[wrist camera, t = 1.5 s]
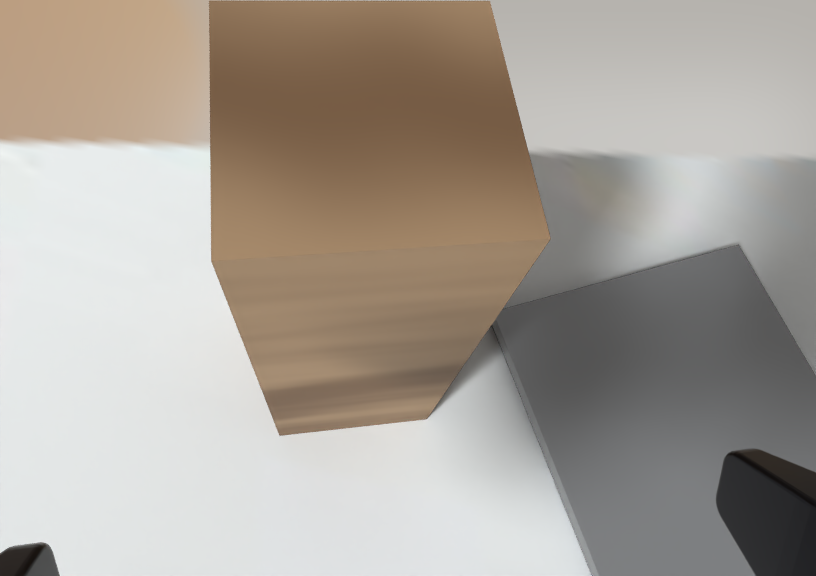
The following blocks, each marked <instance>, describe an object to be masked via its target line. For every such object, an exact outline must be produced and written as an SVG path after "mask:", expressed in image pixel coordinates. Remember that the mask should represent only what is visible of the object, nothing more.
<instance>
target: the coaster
mask: <svg viewBox="0 0 816 576" xmlns="http://www.w3.org/2000/svg"><path fill="white" fill-rule="evenodd" d="M492 326H493V329H494V331H495V334H496V336H497V339H498V341H499V344H500V346H501V349H502V351H503V354H504V356H505V359H506V361H507V364H508V366H509V369H510V371H511V374H512V376H513V379H514V381H515V384H516V386H517V389H518V391H519V394H520V397H521V399H522V402H523V404H524V407H525V409H526V412H527V414H528V417H529V419H530V422H531V424H532V427H533V429H534V432H535V434H536V437H537V439H538V442H539V444H540V447H541V449H542V452H543V454H544V457H545V459H546V462H547V464H548V467H549V469H550V472H551V474H552V477H553V479H554V482H555V484H556V487H557V489H558V492H559V494H560V497H561V499H562V502H563V504H564V507H565V509H566V512H567V514H568V517H569V519H570V522H571V524H572V527H573V529H574V532H575V535H576V537H577V540H578V542H579V545H580V547H581V550H582V552H583V555H584V557H585V560H586V562H587V565H588V567H589V570H590V572H591V575H592V576H755V574H754V573H753V571H752V569H751V568H750V566H749V564H748V563H747V561H746V559H745V557H744V556H743V554H742V552H741V551H740V549H739V547H738V546H737V544H736V542H735V540H734V539H733V537H732V535H731V534H730V532H729V530H728V529H727V527H726V525H725V524H724V522H723V520H722V518H721V517H720V515H719V512H718V510H717V506H716V492H717V488H718V483H719V479H720V474H721V469H722V465H723V460H724V457H725V456H726V455H727V454H728V453H729V452H731V451H735V450H743V449H750V448H755V449H760V450H763V451H765V452H768V453H770V454H772V455H775V456H777V457H780V458H782V459H785V460H787V461H790V462H792V463H794V464H797V465H799V466H802V467H804V468H807V469H809V470H812V471H814V472H816V376H815V374H814V372H813V370H812V369H811V367H810V365H809V364H808V362H807V360H806V359H805V357H804V355H803V353H802V352H801V350H800V348H799V347H798V345H797V343H796V342H795V340H794V338H793V336H792V335H791V333H790V331H789V330H788V328H787V326H786V325H785V323H784V321H783V319H782V318H781V316H780V314H779V313H778V311H777V309H776V308H775V306H774V304H773V302H772V301H771V299H770V297H769V296H768V294H767V292H766V291H765V289H764V287H763V285H762V284H761V282H760V280H759V279H758V277H757V275H756V274H755V272H754V270H753V269H752V267H751V265H750V263H749V262H748V260H747V258H746V257H745V255H744V253H743V252H742V250H741V248H740V246H739V245H736V246H732V247H729V248H725V249H721V250H718V251H714V252H710V253H707V254H703V255H699V256H696V257H692V258H688V259H685V260H681V261H677V262H674V263H670V264H666V265H663V266H659V267H655V268H652V269H648V270H644V271H641V272H637V273H633V274H630V275H626V276H622V277H619V278H615V279H611V280H608V281H604V282H600V283H597V284H593V285H589V286H586V287H582V288H578V289H575V290H571V291H567V292H564V293H560V294H556V295H553V296H549V297H545V298H542V299H538V300H534V301H531V302H527V303H523V304H520V305H516V306H512V307H509V308H505V309H502V310H501V312H500V313H499V315H498V316H497V318H496V319H495V321H494V322H493V324H492Z"/></svg>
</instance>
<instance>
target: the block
mask: <svg viewBox="0 0 816 576" xmlns="http://www.w3.org/2000/svg"><path fill="white" fill-rule="evenodd" d="M209 19H210V20H209V23H210V24H209V26H210V28H209V33H210V155H211V261H212V264H213V267H214V269H215V272H216V274H217V277H218V279H219V282H220V284H221V287H222V290H223V292H224V295H225V297H226V300H227V302H228V305H229V307H230V310H231V313H232V315H233V318H234V320H235V323H236V325H237V328H238V330H239V333H240V336H241V338H242V341H243V343H244V346H245V348H246V351H247V353H248V356H249V359H250V361H251V364H252V366H253V369H254V371H255V374H256V377H257V379H258V382H259V384H260V387H261V389H262V392H263V394H264V397H265V400H266V402H267V405H268V407H269V410H270V412H271V415H272V417H273V420H274V423H275V425H276V428H277V430H278V433H279V435H280V436H281V435H290V434H299V433H307V432H316V431H325V430H334V429H343V428H352V427H361V426H370V425H379V424H388V423H397V422H406V421H415V420H423V419H427V418H428V417H429V415H430V414H431V412H432V411H433V409H434V408H435V406H436V405H437V404H438V402H439V401H440V399H441V398H442V396H443V395H444V393H445V392H446V390H447V389H448V388H449V386H450V385H451V383H452V382H453V380H454V379H455V377H456V376H457V374H458V373H459V372H460V370H461V369H462V367H463V366H464V364H465V363H466V361H467V360H468V358H469V357H470V356H471V354H472V353H473V351H474V350H475V348H476V347H477V345H478V344H479V342H480V341H481V340H482V338H483V337H484V335H485V334H486V332H487V331H488V329H489V328H490V326H491V325H492V324H493V322H494V321H495V319H496V318H497V316H498V315H499V313H500V312H501V310H502V309H503V308H504V306H505V305H506V303H507V302H508V300H509V299H510V297H511V296H512V294H513V293H514V292H515V290H516V289H517V287H518V286H519V284H520V283H521V281H522V280H523V278H524V277H525V276H526V274H527V273H528V271H529V270H530V268H531V267H532V265H533V264H534V262H535V261H536V260H537V258H538V257H539V255H540V254H541V252H542V251H543V249H544V248H545V246H546V245H547V244H548V242H549V241H550V239H551V238H550V234H549V230H548V226H547V222H546V219H545V215H544V211H543V207H542V203H541V199H540V195H539V191H538V187H537V183H536V180H535V176H534V172H533V168H532V164H531V160H530V156H529V152H528V148H527V144H526V141H525V137H524V133H523V129H522V125H521V121H520V117H519V113H518V110H517V106H516V102H515V98H514V94H513V90H512V86H511V82H510V78H509V74H508V70H507V66H506V63H505V59H504V55H503V51H502V47H501V43H500V39H499V35H498V32H497V28H496V23H495V19H494V16H493V12H492V8H491V4H490V1H209Z"/></svg>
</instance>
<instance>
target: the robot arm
mask: <svg viewBox="0 0 816 576" xmlns="http://www.w3.org/2000/svg"><path fill="white" fill-rule="evenodd" d="M716 506H717V510H718V512H719V515H720V517H721V518H722V520H723V522H724V524H725V525H726V527H727V529H728V530H729V532H730V534H731V535H732V537H733V539H734V540H735V542H736V544H737V546H738V547H739V549H740V551H741V552H742V554H743V556H744V557H745V559H746V561H747V563H748V564H749V566H750V568H751V569H752V571H753V573H754V574H755V576H816V472H814V471H812V470H809V469H807V468H804V467H802V466H799V465H797V464H794V463H792V462H790V461H787V460H785V459H782V458H780V457H777V456H775V455H772V454H770V453H768V452H765V451H763V450H760V449H755V448H750V449H743V450H735V451H731V452H729V453H728V454H727V455H726V456H725V457H724V460H723V465H722V469H721V474H720V479H719V483H718V488H717V492H716ZM0 576H60V575H59V572H58V568H57V565H56V562H55V558H54V555H53V552H52V549H51V548H50V546H49V545H48V544H46V543H42V542H40V543H32V544H25V545H17V546H13V547H9V548H7V549H6V550H4V551H3V552H2V553H0Z"/></svg>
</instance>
